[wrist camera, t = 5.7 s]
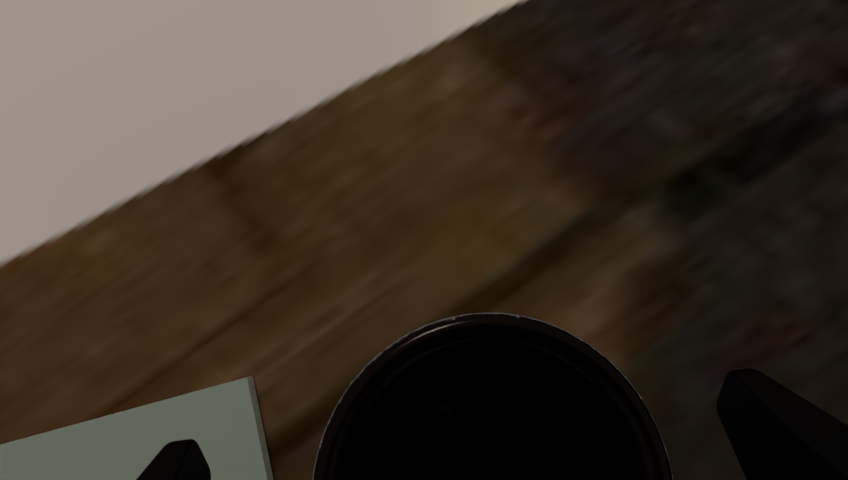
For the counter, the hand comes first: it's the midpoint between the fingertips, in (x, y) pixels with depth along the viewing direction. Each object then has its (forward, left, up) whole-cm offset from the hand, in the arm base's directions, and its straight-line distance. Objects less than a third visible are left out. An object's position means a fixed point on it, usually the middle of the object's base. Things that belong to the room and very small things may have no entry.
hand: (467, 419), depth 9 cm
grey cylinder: (-1, 0, -8) cm, 8 cm away
